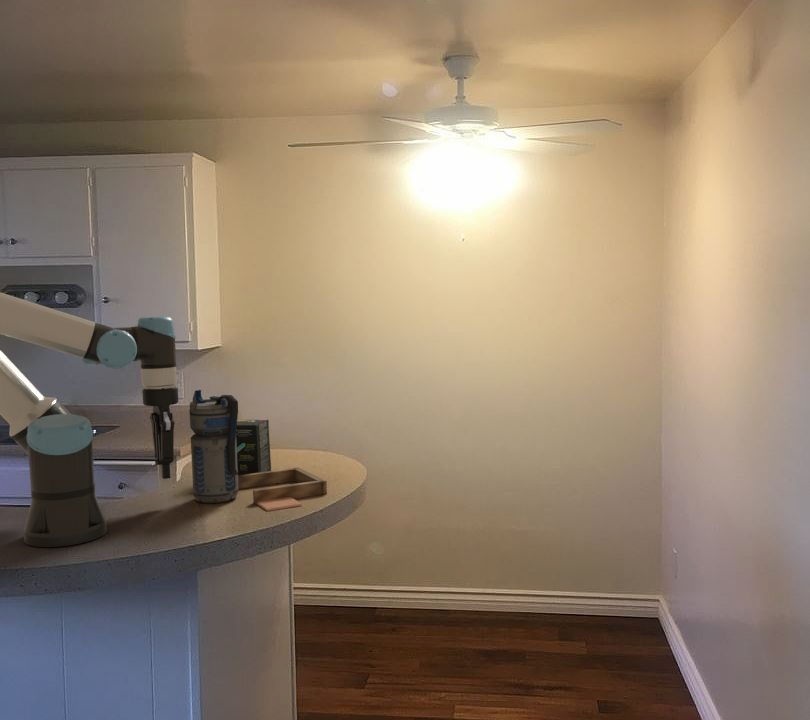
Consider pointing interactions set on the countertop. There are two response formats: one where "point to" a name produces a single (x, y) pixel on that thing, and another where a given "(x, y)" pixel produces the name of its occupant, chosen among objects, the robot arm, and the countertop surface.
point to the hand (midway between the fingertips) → (166, 491)
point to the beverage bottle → (214, 448)
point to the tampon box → (253, 446)
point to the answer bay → (303, 488)
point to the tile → (279, 503)
